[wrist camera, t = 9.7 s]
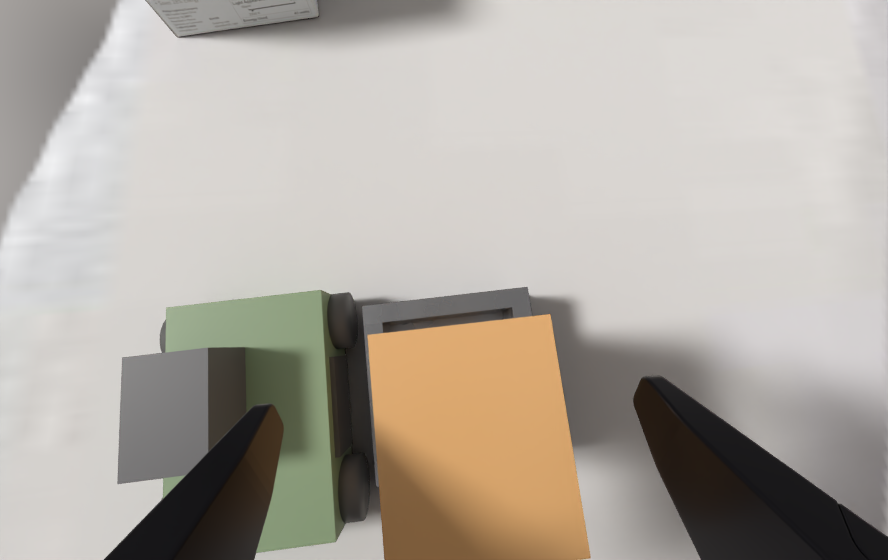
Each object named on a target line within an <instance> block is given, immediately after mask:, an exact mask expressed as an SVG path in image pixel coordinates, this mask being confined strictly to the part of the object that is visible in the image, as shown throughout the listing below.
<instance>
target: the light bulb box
mask: <svg viewBox="0 0 888 560" xmlns="http://www.w3.org/2000/svg"><path fill="white" fill-rule="evenodd" d="M146 2H147V3H148V4H149V5H150V6H151V7H152V9H153V10H154V11H155V12H156V13H157V14H158V16H159V17H160V18H161V19H162V20H163V21H164V23H165V24H166V25H167V26H168V27H169V29H170V30H171V31H172V32H173V33H174V34H175V36H176V37H180V36H186V35H193V34H200V33H207V32H214V31H221V30H228V29H235V28H243V27H250V26H257V25H264V24H271V23H278V22H285V21H292V20H299V19H306V18H314V17H318V15H319V11H318V3H317V0H146Z"/></svg>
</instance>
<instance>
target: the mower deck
mask: <svg viewBox="0 0 888 560" xmlns="http://www.w3.org/2000/svg"><path fill="white" fill-rule="evenodd" d="M357 335H358V323H357V313H356V308H355V303H354V300H353V297H352V295H351V294H350V293H349V292H348V293H339V294H329V293H326V292H324V291H322V290H317V291H308V292H299V293H290V294H282V295H273V296H264V297H255V298H246V299H238V300H229V301H220V302H211V303H203V304H194V305H185V306H176V307H167V308H166V320H165V322H164V323H163V326H162V328H161V332H160V347H161V351H162V353H157V354H149V355H140V356H132V357H123V358H122V376H121V403H120V429H119V456H118V483H117V484H122V483H130V482H138V481H146V480H153V479H161V478H163V498H164V497H165V496H166V495H167V494H168V493H169V492H170V491H171V490H172V489H173V488H174V487H175V486H176V485H177V484H178V483H179V482H180V481H181V480H182V479H183V478H184V476H185V475H186V474H187V473H188V472H189V471H190V470H191V469H192V468H193V467H194V466H195V465H196V464H197V463H198V462H199V461H200V460H201V459H202V458H203V457H204V456H205V455H206V454H207V453H208V452H209V451H210V450H211V449H212V448H213V447H214V446H215V445H216V444H217V442H218V441H219V440H220V439H221V438H222V437H223V436H224V435H225V434H226V433H227V432H228V431H229V430H230V429H231V428H232V427H233V426H234V425H235V424H236V423H237V422H238V421H239V420H240V419H241V418H242V417H243V416H244V415H245V414H246V413H247V412H248V411H249V410H250V408H252V407H253V406H254V405H257V404H266V403H272V404H273V405H274V406H275V407H276V409H277V411H278V413H279V416H280V418H281V420H282V422H283V425H284V433H283V439H282V444H281V450H280V455H279V461H278V467H277V472H276V478H275V483H274V489H273V494H272V498H271V502H270V506H269V510H268V513H267V517H266V520H265V524H264V527H263V531H262V534H261V537H260V541H259V544H258V548H257V551H256V553H259V552H266V551H274V550H281V549H288V548H296V547H303V546H311V545H318V544H325V543H333V542H336V541H337V539H338V537H339V535H340V533H341V531H342V529H343V528H344V526H345V524H346V523H350V522H357V521H363V520H365V518H366V515H367V511H368V505H369V470H368V463H367V459H366V456H365V454H364V453H358V454H352V446H351V445H352V429H351V414H350V400H349V385H348V371H347V356H346V355H345V348H351V347H355V345H356V342H357ZM163 498H162V499H163Z"/></svg>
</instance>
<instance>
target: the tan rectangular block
mask: <svg viewBox="0 0 888 560" xmlns="http://www.w3.org/2000/svg"><path fill="white" fill-rule="evenodd" d="M368 348H369V362H370V375H371V388H372V401H373V414H374V427H375V441H376V454H377V467H378V480H379V493H380V506H381V520H382V533H383V546H384V559H385V560H581V559H588V558H591V557H590V551H589V545H588V539H587V533H586V527H585V521H584V515H583V509H582V502H581V496H580V490H579V484H578V478H577V472H576V466H575V460H574V454H573V448H572V442H571V436H570V430H569V424H568V418H567V412H566V406H565V400H564V394H563V388H562V382H561V376H560V370H559V363H558V357H557V351H556V345H555V339H554V333H553V327H552V321H551V315H550V314H547V315H538V316H529V317H520V318H512V319H503V320H494V321H485V322H477V323H468V324H459V325H450V326H442V327H433V328H424V329H415V330H407V331H398V332H389V333H380V334H372V335H368Z"/></svg>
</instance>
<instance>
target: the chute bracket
mask: <svg viewBox="0 0 888 560" xmlns="http://www.w3.org/2000/svg"><path fill="white" fill-rule="evenodd" d="M362 312H363V325H364V338H365V351H366V364H367V376H368V389H369V402H370V415H371V427H372V440H373V453H374V466H375V479H376V487H379V480H378V467H377V454H376V441H375V427H374V414H373V401H372V388H371V375H370V362H369V348H368V335H372V334H380V333H389V332H398V331H407V330H415V329H424V328H433V327H442V326H450V325H459V324H468V323H477V322H485V321H494V320H503V319H512V318H520V317H529V316H532V312H531V305H530V299H529V293H528V287H522V288H514V289H505V290H496V291H488V292H479V293H470V294H462V295H453V296H444V297H436V298H427V299H419V300H410V301H401V302H393V303H384V304H375V305H367V306H362Z"/></svg>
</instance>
